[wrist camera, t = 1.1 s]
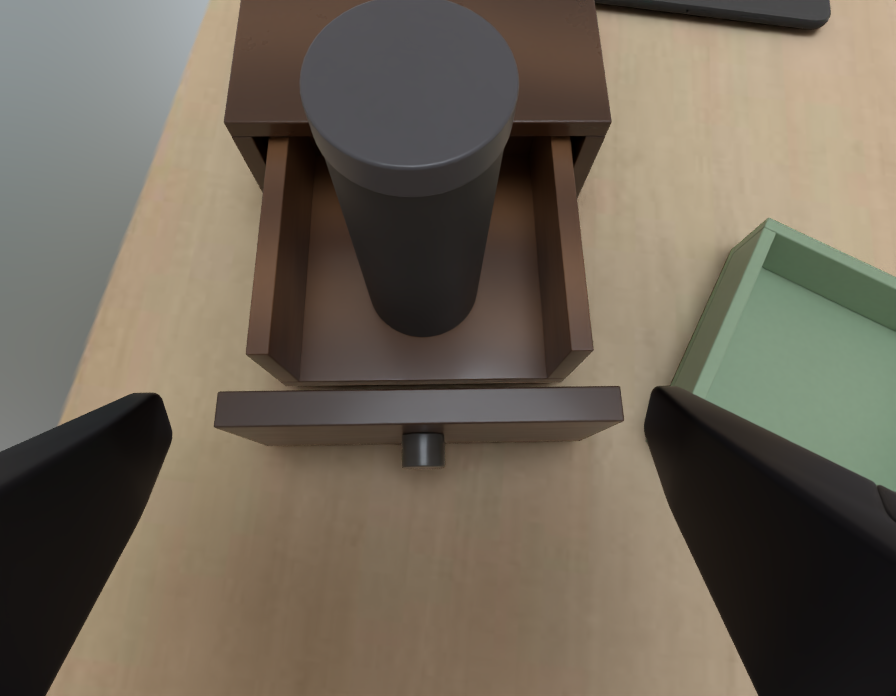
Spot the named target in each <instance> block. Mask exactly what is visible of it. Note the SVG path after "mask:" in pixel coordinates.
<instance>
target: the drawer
mask: <svg viewBox="0 0 896 696" xmlns="http://www.w3.org/2000/svg"><path fill="white" fill-rule="evenodd" d="M593 350H594V349H593V340H592V331H591V322H590V313H589V304H588V295H587V286H586V277H585V268H584V259H583V250H582V241H581V232H580V223H579V214H578V205H577V196H576V186H575V177H574V168H573V159H572V150H571V141H570V136H509V139H508V141H507V143H506V145H505V147H504V151H503V156H502V161H501V167H500V172H499V177H498V183H497V188H496V194H495V199H494V204H493V210H492V215H491V221H490V226H489V231H488V237H487V242H486V247H485V253H484V258H483V264H482V269H481V274H480V280H479V285H478V291H477V296H476V300H475V303H474V305H473V308H472V310H471V311H470V313H469V314H468V316H467V317H466V318H465V319H464V320H463V321H462V322H461V323H460V324H459V325H458V326H456V327H455V328H453V329H451V330H450V331H448V332H445V333H443V334H440V335H436V336H430V337H416V336H410V335H406V334H403V333H401V332H398V331H396V330H395V329H393V328H391V327H390V326H389V325H387V324H386V323H385V322H384V321H383V320H382V319H381V318H380V316H379V315H378V314H377V312H376V311H375V309H374V307H373V304H372V302H371V299H370V296H369V292H368V289H367V286H366V283H365V280H364V277H363V274H362V271H361V268H360V265H359V262H358V259H357V256H356V253H355V250H354V247H353V243H352V240H351V237H350V234H349V231H348V228H347V225H346V222H345V219H344V216H343V213H342V210H341V207H340V204H339V201H338V197H337V194H336V191H335V188H334V185H333V182H332V179H331V176H330V173H329V170H328V167H327V164H326V161H325V158H324V156H323V155H322V153H321V151H320V150H319V148H318V146H317V144H316V142H315V139H314V137H313V136H269V141H268V150H267V160H266V169H265V178H264V188H263V197H262V206H261V216H260V225H259V235H258V244H257V253H256V263H255V272H254V281H253V291H252V300H251V309H250V319H249V328H248V338H247V347H246V355H247V356H248V357H250V358H251V359H252V360H254V361H255V362H256V363H257V364H259V365H260V366H261V367H262V368H264V369H265V370H266V371H268V372H269V373H270V374H271V375H273V376H274V377H275V378H276V379H278V380H279V381H280V382H282V383H283V384H284V385H285V386H338V385H412V384H485V383H559V382H562V381H563V380H564V379H565V378H566V377H567V376H568V375H569V374H570V373H571V372H572V371H573V370H574V369H575V368H576V367H577V366H578V365H579V364H580V363H581V362H582V361H583V360H584V359H585V358H586V357H587V356H588V355H589V354H590V353H591V352H592V351H593ZM623 421H624V415H623V407H622V399H621V391H620V387H619V386H587V387H515V388H442V389H370V390H298V391H225V392H218V396H217V404H216V412H215V421H214V427H215V428H217V429H220V430H223V431H226V432H229V433H232V434H235V435H238V436H241V437H243V438H246V439H249V440H252V441H255V442H258V443H261V444H264V445H267V446H290V445H351V444H402V468H403V469H440V468H444V467H445V443H472V442H533V441H580V440H583V439H585V438H587V437H589V436H591V435H594V434H596V433H598V432H600V431H603V430H605V429H607V428H609V427H611V426H614V425H616V424H618V423H620V422H623Z"/></svg>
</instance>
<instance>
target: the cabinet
mask: <svg viewBox="0 0 896 696" xmlns="http://www.w3.org/2000/svg"><path fill="white" fill-rule="evenodd" d="M368 1H372V0H241V3H240V10H239V18H238V25H237V32H236V39H235V46H234V53H233V60H232V67H231V74H230V81H229V89H228V96H227V103H226V110H225V117H224V124H225V125H226V127H227V129H228V131H229V133H230V134H231V136H232V138H233V140H234V142H235V144H236V146H237V147H238V149H239V151H240V153H241V155H242V156H243V158H244V160H245V162H246V163H247V165H248V167H249V169H250V171H251V172H252V174H253V176H254V178H255V180H256V181H257V183H258V185H259V187H260V188H261V190H262V192H263V188H264V178H265V169H266V160H267V150H268V141H269V136H313V134H312V131H311V128H310V125H309V122H308V119H307V117H306V114H305V111H304V108H303V105H302V100H301V95H300V73H301V67H302V64H303V60H304V57H305V55H306V53H307V51H308V49H309V46H310V45H311V43H312V42H313V40H314V39H315V37H316V36H317V35H318V34H319V33H320V32H321V30H322V29H323V28H324V27H325V26H326V25H328V24H329V23H330V22H331V21H332V20H333V19H335V18H336V17H338V16H339V15H341V14H342V13H344V12H346V11H348V10H349V9H351V8H353V7H355V6H358V5H360V4H363V3H366V2H368ZM447 1H450V2H453V3H456V4H459V5H461V6H463V7H465V8H468V9H470V10H472V11H473V12H475V13H476V14H478V15H480V16H481V17H483V18H484V19H485V20H486V21H488V22H489V23H490V24H491V25H492V26H493V27H494V28H495V29H496V30H497V31H498V32H499V33H500V34H501V35H502V37H503V38H504V39H505V41H506V42H507V44H508V46H509V47H510V49H511V51H512V53H513V56H514V59H515V61H516V65H517V69H518V74H519V92H518V99H517V104H516V109H515V115H514V120H513V125H512V129H511V132H510V136H570V141H571V150H572V159H573V168H574V177H575V186H576V196H577V197H578V195H579V193H580V191H581V189H582V187H583V184H584V182H585V180H586V178H587V176H588V173H589V171H590V169H591V167H592V165H593V162H594V160H595V158H596V156H597V154H598V151H599V149H600V147H601V145H602V143H603V140H604V138H605V135H606V133H607V131H608V129H609V127H610V124H611V122H612V121H611V114H610V107H609V100H608V93H607V86H606V79H605V72H604V65H603V58H602V51H601V44H600V37H599V29H598V22H597V15H596V8H595V1H594V0H447Z"/></svg>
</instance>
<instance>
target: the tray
mask: <svg viewBox="0 0 896 696" xmlns="http://www.w3.org/2000/svg"><path fill="white" fill-rule="evenodd" d="M670 386H678V387H680V388H682V389H685V390H687V391H689V392H691V393H693V394H695V395H697V396H699V397H701V398H703V399H705V400H707V401H709V402H711V403H713V404H715V405H717V406H719V407H721V408H724V409H726V410H728V411H730V412H732V413H734V414H736V415H738V416H740V417H742V418H744V419H746V420H748V421H750V422H752V423H754V424H756V425H758V426H760V427H763V428H765V429H767V430H769V431H771V432H773V433H775V434H777V435H779V436H781V437H783V438H785V439H787V440H789V441H791V442H793V443H795V444H797V445H800V446H802V447H804V448H806V449H808V450H810V451H812V452H814V453H816V454H818V455H820V456H822V457H824V458H826V459H828V460H830V461H832V462H834V463H836V464H839V465H841V466H843V467H845V468H847V469H849V470H851V471H853V472H855V473H857V474H859V475H861V476H863V477H865V478H867V479H869V480H871V481H873V482H875V484H876V486H877V485H882V486H884V487H886V488H888V489H890V490H892V491H894V492H896V277H894V276H892V275H890V274H888V273H886V272H884V271H882V270H879V269H877V268H875V267H873V266H871V265H869V264H867V263H865V262H862V261H860V260H858V259H856V258H854V257H852V256H850V255H847V254H845V253H843V252H841V251H839V250H837V249H835V248H833V247H830V246H828V245H826V244H824V243H822V242H820V241H818V240H816V239H813V238H811V237H809V236H807V235H805V234H803V233H801V232H798V231H796V230H794V229H792V228H790V227H788V226H786V225H784V224H781V223H779V222H777V221H775V220H773V219H771V218H767V219H766V220H765V221H764V222H763V223H762V224H760V225H759V226H758V227H757V228H756V229H755V230H754V231H752V232H751V233H750V234H749V235H748V236H747V237H745V238H744V239H743V240H742V241H741V242H740V243H739V244H737V245H736V246H735V247H734V248H733V249H732V250H731V252H730V254H729V256H728V259H727V261H726V263H725V265H724V267H723V270H722V272H721V274H720V276H719V279H718V281H717V283H716V285H715V287H714V290H713V292H712V294H711V296H710V299H709V301H708V303H707V305H706V308H705V310H704V312H703V314H702V316H701V319H700V321H699V323H698V325H697V328H696V330H695V332H694V334H693V336H692V339H691V341H690V343H689V345H688V348H687V350H686V352H685V354H684V356H683V359H682V361H681V363H680V365H679V368H678V370H677V372H676V374H675V376H674V379H673V381H672V383H671V385H670ZM646 442H647V440H646Z"/></svg>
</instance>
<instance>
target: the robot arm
mask: <svg viewBox="0 0 896 696" xmlns="http://www.w3.org/2000/svg"><path fill="white" fill-rule="evenodd" d="M644 432H645V437H646V440H647V443H648V446H649V449H650V452H651V455H652V457H653V460H654V463H655V466H656V469H657V472H658V475H659V478H660V481H661V484H662V487H663V490H664V493H665V496H666V499H667V501H668V504H669V507H670V509H671V511H672V513H673V516H674V518H675V520H676V522H677V524H678V526H679V528H680V531H681V533H682V535H683V537H684V539H685V541H686V543H687V545H688V548H689V550H690V552H691V554H692V556H693V558H694V560H695V562H696V565H697V567H698V569H699V571H700V573H701V575H702V577H703V579H704V581H705V584H706V586H707V588H708V590H709V592H710V594H711V596H712V598H713V601H714V603H715V605H716V607H717V609H718V611H719V613H720V615H721V618H722V620H723V622H724V624H725V626H726V628H727V630H728V632H729V634H730V637H731V639H732V641H733V643H734V645H735V647H736V649H737V651H738V654H739V656H740V658H741V660H742V662H743V664H744V666H745V668H746V671H747V673H748V675H749V677H750V679H751V681H752V683H753V685H754V687H755V690H756V692H757V694H758V696H896V492H894V491H892V490H890V489H888V488H886V487H884V486H882V485H877V486H876V484H875V482H873V481H871V480H869V479H867V478H865V477H863V476H861V475H859V474H857V473H855V472H853V471H851V470H849V469H847V468H845V467H843V466H841V465H839V464H836V463H834V462H832V461H830V460H828V459H826V458H824V457H822V456H820V455H818V454H816V453H814V452H812V451H810V450H808V449H806V448H804V447H802V446H800V445H797V444H795V443H793V442H791V441H789V440H787V439H785V438H783V437H781V436H779V435H777V434H775V433H773V432H771V431H769V430H767V429H765V428H763V427H760V426H758V425H756V424H754V423H752V422H750V421H748V420H746V419H744V418H742V417H740V416H738V415H736V414H734V413H732V412H730V411H728V410H726V409H724V408H721V407H719V406H717V405H715V404H713V403H711V402H709V401H707V400H705V399H703V398H701V397H699V396H697V395H695V394H693V393H691V392H689V391H687V390H685V389H682V388H680V387H678V386H657V387H655V388H654V389H653V391H652V393H651V396H650V400H649V405H648V409H647V414H646V418H645V423H644ZM171 441H172V429H171V425H170V422H169V419H168V416H167V413H166V410H165V406H164V403H163V400H162V398H161V397H160V395H158V394H156V393H132V394H130V395H127V396H125V397H123V398H121V399H118V400H116V401H114V402H112V403H109V404H107V405H105V406H103V407H100V408H98V409H96V410H94V411H91V412H89V413H87V414H85V415H82V416H80V417H78V418H76V419H73V420H71V421H69V422H67V423H64V424H62V425H60V426H58V427H55V428H53V429H51V430H49V431H46V432H44V433H42V434H40V435H37V436H35V437H33V438H31V439H29V440H26V441H24V442H21V443H20V444H17V445H15V446H12V447H10V448H8V449H6V450H4V451H1V452H0V696H46V694H47V692H48V690H49V688H50V686H51V685H52V683H53V681H54V679H55V677H56V675H57V673H58V671H59V670H60V668H61V666H62V664H63V662H64V660H65V658H66V657H67V655H68V653H69V651H70V649H71V647H72V645H73V643H74V642H75V640H76V638H77V636H78V634H79V632H80V630H81V629H82V627H83V625H84V623H85V621H86V619H87V617H88V615H89V614H90V612H91V610H92V608H93V606H94V604H95V602H96V600H97V599H98V597H99V595H100V593H101V591H102V589H103V587H104V586H105V584H106V582H107V580H108V578H109V576H110V574H111V572H112V571H113V569H114V567H115V565H116V563H117V561H118V559H119V558H120V556H121V554H122V552H123V550H124V548H125V546H126V544H127V543H128V541H129V539H130V537H131V535H132V533H133V531H134V529H135V528H136V526H137V524H138V522H139V520H140V518H141V516H142V513H143V511H144V509H145V506H146V504H147V502H148V499H149V497H150V494H151V492H152V489H153V487H154V484H155V482H156V479H157V477H158V474H159V472H160V469H161V467H162V464H163V462H164V459H165V457H166V455H167V452H168V450H169V447H170V445H171Z"/></svg>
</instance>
